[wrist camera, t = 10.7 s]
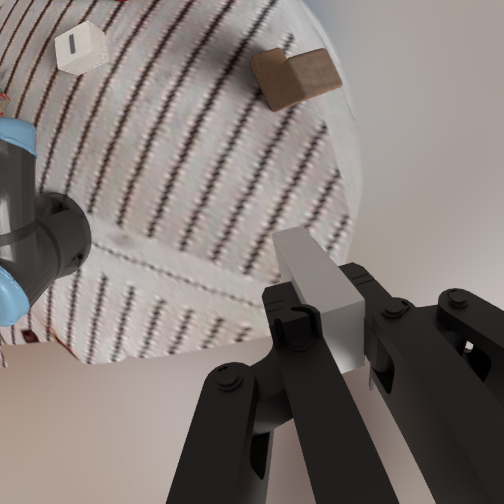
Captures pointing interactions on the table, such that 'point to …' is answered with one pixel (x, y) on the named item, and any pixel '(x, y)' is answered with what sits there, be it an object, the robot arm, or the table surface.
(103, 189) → the table surface
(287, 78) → the wooden block
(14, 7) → the table surface
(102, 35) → the marked block 1
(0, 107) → the stack of blocks
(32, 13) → the table surface
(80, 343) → the table surface
